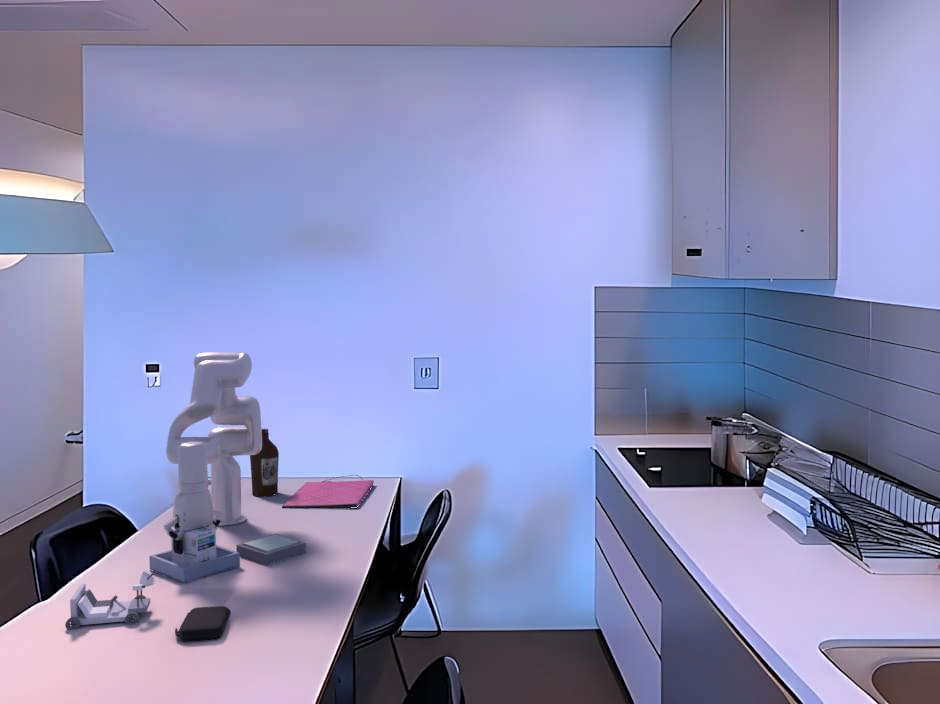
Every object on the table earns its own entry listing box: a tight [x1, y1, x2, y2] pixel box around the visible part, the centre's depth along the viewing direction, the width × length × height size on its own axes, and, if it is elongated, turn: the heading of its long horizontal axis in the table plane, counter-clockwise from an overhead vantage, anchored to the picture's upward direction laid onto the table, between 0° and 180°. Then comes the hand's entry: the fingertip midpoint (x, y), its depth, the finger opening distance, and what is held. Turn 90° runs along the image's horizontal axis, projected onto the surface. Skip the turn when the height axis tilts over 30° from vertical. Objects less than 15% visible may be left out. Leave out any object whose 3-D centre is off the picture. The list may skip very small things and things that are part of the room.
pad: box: [243, 534, 299, 553], centre depth 228 cm, size 11×11×2 cm
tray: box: [148, 544, 241, 585], centre depth 215 cm, size 17×17×4 cm
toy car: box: [64, 571, 157, 631], centre depth 182 cm, size 18×10×12 cm
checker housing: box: [235, 533, 307, 566], centre depth 228 cm, size 14×14×3 cm
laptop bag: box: [281, 474, 374, 509], centre depth 298 cm, size 40×4×27 cm
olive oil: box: [249, 428, 280, 498], centre depth 299 cm, size 11×11×25 cm
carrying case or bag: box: [174, 605, 232, 643], centre depth 175 cm, size 11×3×15 cm
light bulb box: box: [170, 527, 217, 567], centre depth 215 cm, size 11×7×11 cm, turn 62°
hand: (194, 548), depth 215 cm, fingers open, 9 cm apart
